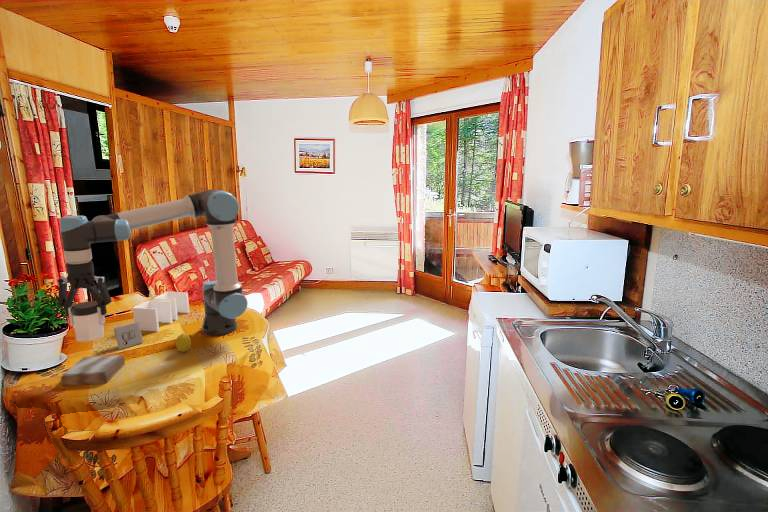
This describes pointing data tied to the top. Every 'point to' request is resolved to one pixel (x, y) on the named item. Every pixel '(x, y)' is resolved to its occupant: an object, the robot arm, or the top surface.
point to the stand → (93, 370)
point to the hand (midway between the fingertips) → (88, 324)
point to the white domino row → (161, 310)
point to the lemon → (183, 342)
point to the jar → (87, 321)
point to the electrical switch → (128, 335)
